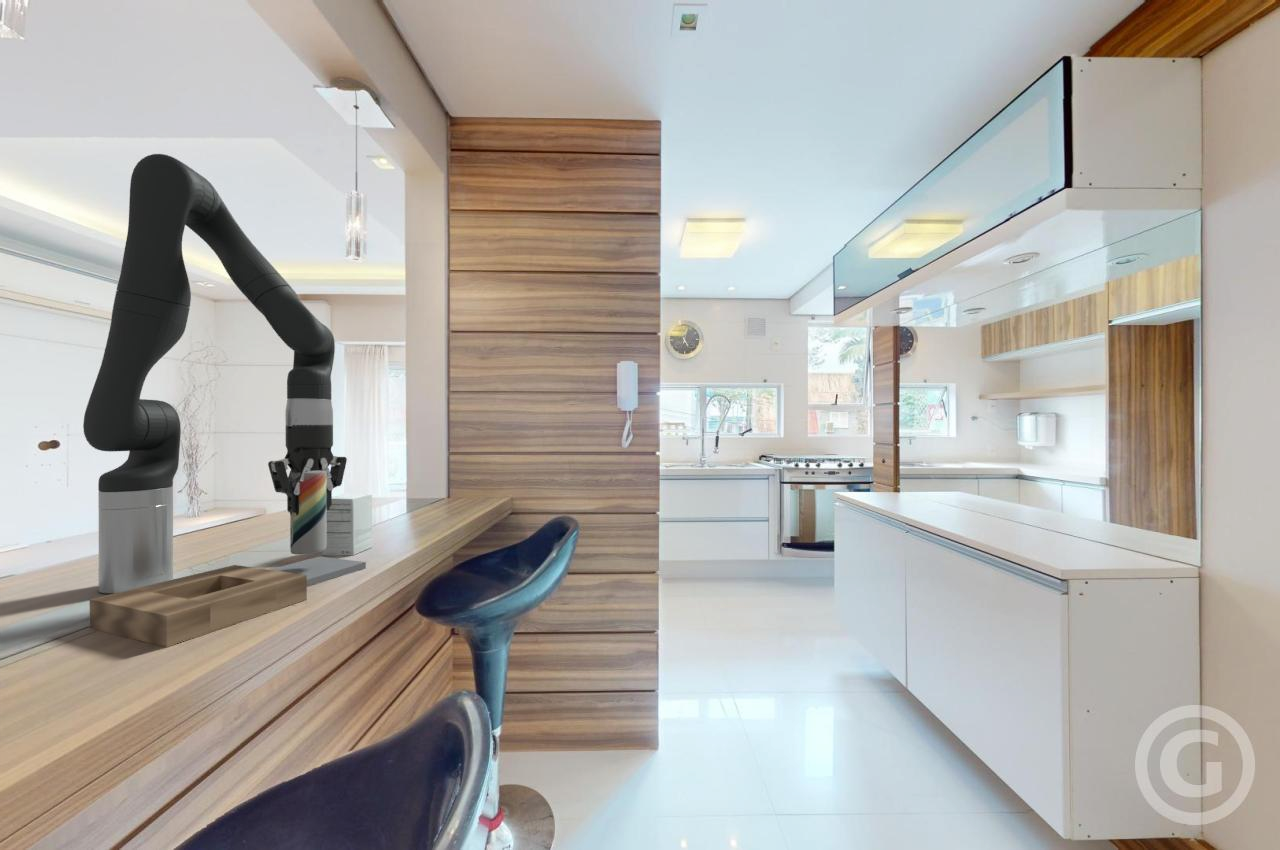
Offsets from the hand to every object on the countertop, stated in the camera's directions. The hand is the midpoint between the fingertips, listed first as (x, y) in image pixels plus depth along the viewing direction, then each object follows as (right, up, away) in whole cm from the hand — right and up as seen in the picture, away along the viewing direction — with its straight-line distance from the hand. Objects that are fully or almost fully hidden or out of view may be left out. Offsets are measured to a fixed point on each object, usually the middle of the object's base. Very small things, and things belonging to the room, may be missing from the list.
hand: (310, 512), depth 93 cm
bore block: (-3, -12, -19) cm, 23 cm away
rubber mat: (0, -12, 0) cm, 12 cm away
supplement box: (-3, -12, +17) cm, 21 cm away
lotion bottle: (0, -8, 0) cm, 8 cm away
